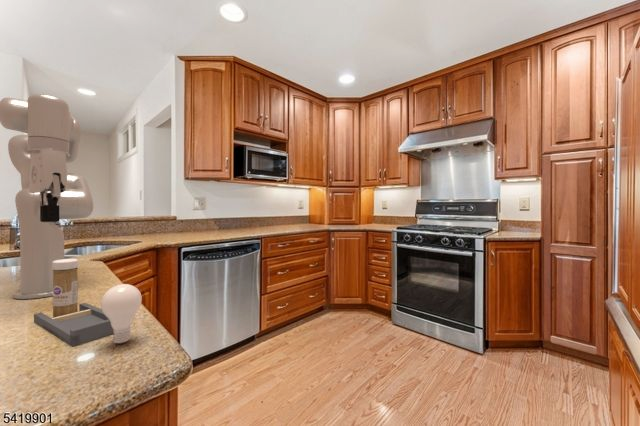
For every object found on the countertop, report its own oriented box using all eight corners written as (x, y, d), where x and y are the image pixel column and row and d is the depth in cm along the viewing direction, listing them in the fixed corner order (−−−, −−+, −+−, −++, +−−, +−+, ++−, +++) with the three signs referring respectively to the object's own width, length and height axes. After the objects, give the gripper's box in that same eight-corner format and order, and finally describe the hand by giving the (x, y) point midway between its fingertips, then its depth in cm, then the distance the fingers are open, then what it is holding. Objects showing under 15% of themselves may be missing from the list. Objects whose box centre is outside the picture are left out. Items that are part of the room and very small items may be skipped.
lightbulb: (121, 352, 51) (121, 289, 51) (91, 349, 52) (91, 288, 52) (149, 337, 57) (149, 281, 57) (122, 334, 58) (122, 279, 58)
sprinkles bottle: (47, 322, 64) (46, 261, 64) (61, 315, 69) (60, 258, 69) (70, 321, 65) (70, 261, 65) (83, 313, 70) (82, 258, 70)
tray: (33, 321, 65) (33, 309, 65) (85, 309, 73) (85, 298, 73) (72, 346, 53) (72, 331, 53) (128, 328, 61) (128, 315, 61)
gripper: (19, 148, 73) (19, 222, 73) (38, 140, 65) (39, 222, 65) (57, 153, 79) (58, 221, 79) (80, 146, 71) (80, 221, 71)
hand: (49, 221), depth 72 cm, fingers closed
